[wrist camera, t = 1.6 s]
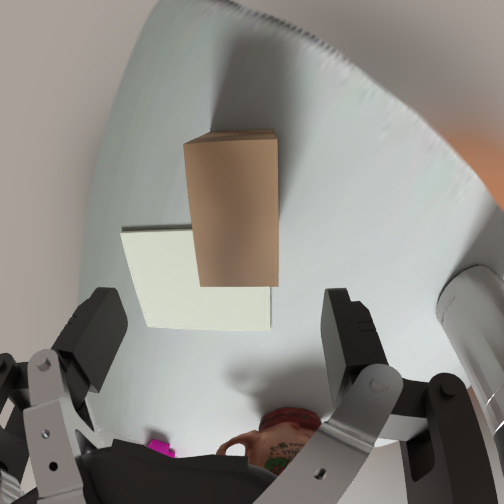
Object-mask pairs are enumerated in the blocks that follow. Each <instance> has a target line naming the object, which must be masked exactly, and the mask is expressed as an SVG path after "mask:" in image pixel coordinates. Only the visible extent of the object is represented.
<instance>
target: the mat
mask: <svg viewBox="0 0 504 504" xmlns="http://www.w3.org/2000/svg"><path fill="white" fill-rule="evenodd" d="M120 235H121V239H122V243H123V247H124V250H125V254H126V258H127V262H128V265H129V269H130V272H131V276H132V279H133V283H134V286H135V289H136V293H137V296H138V299H139V302H140V305H141V308H142V311H143V314H144V317H145V320H146V323H147V326H148V327H156V328H174V329H196V330H237V331H270V287H200V282H199V275H198V268H197V261H196V254H195V247H194V239H193V231H192V229H167V230H141V231H122V232H121V233H120Z"/></svg>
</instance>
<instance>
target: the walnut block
mask: <svg viewBox="0 0 504 504" xmlns="http://www.w3.org/2000/svg"><path fill="white" fill-rule="evenodd" d="M183 146H184V158H185V168H186V179H187V188H188V197H189V206H190V215H191V223H192V231H193V239H194V247H195V254H196V261H197V268H198V275H199V282H200V287H278V271H279V215H278V143H277V137H276V134H275V131H274V129H262V130H235V131H218V132H209V133H207V134H204V135H202V136H200V137H198V138H196V139H193V140H191V141H189V142H187V143H185V144H183Z"/></svg>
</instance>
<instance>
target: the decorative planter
mask: <svg viewBox="0 0 504 504" xmlns="http://www.w3.org/2000/svg"><path fill="white" fill-rule="evenodd" d="M321 425H322V423H321V420H320V418H319V417H318V416H317V415H316V414H315V413H313V412H311V411H308V410H305V409H299V408H282V409H278V410H276V411H273V412H271V413H269V414H268V415H266V416H265V417H264V418H263V419H262V421H261V422H260V425H259V432H258V431H256V430H253V431H250V432H248V433H244V434H241V435H239V436H237V437H234V438H232V439H231V440H229V441H228V442H226V443H224V444H222V445H221V446H220V448H219V449H218V450H217V452H216V455H226V454H225V453H226V450H227V449H228V448H229V447H230V446H232V445H234V444H238V443H240V444H242V445H244V446H245V456H248V459H249V464H251V465H255V466H258V467H261V468H264V469H266V470H268V471H270V472H272V473H274V474H276V475H277V476H279V475H280V474H281V473H282V472H283V471H284V470H285V468H286V467H287V466H288V465H289V464H290V463H291V461H292V460H293V459H294V458H295V457H296V455H297V454H298V453H299V452H300V451H301V449H302V448H303V447H304V446H305V445H306V443H307V442H308V441H309V439H310V438H311V437H312V436H313V434H314V433H315V432H316V431H317V429H318V428H319V427H320V426H321Z"/></svg>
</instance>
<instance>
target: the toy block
mask: <svg viewBox="0 0 504 504" xmlns="http://www.w3.org/2000/svg"><path fill="white" fill-rule="evenodd" d="M169 446H170V445H169V444H166V443H163V442H160V441H157V440H155V439H153V440H152V441H151V442H150V443H149V445H148V446H147V447H148V448H151V449H153V450H155V451H158V452H160V453H162V454H165V455H167V456H169V457H172V458H174V457H175V453H172V452H169Z"/></svg>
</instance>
